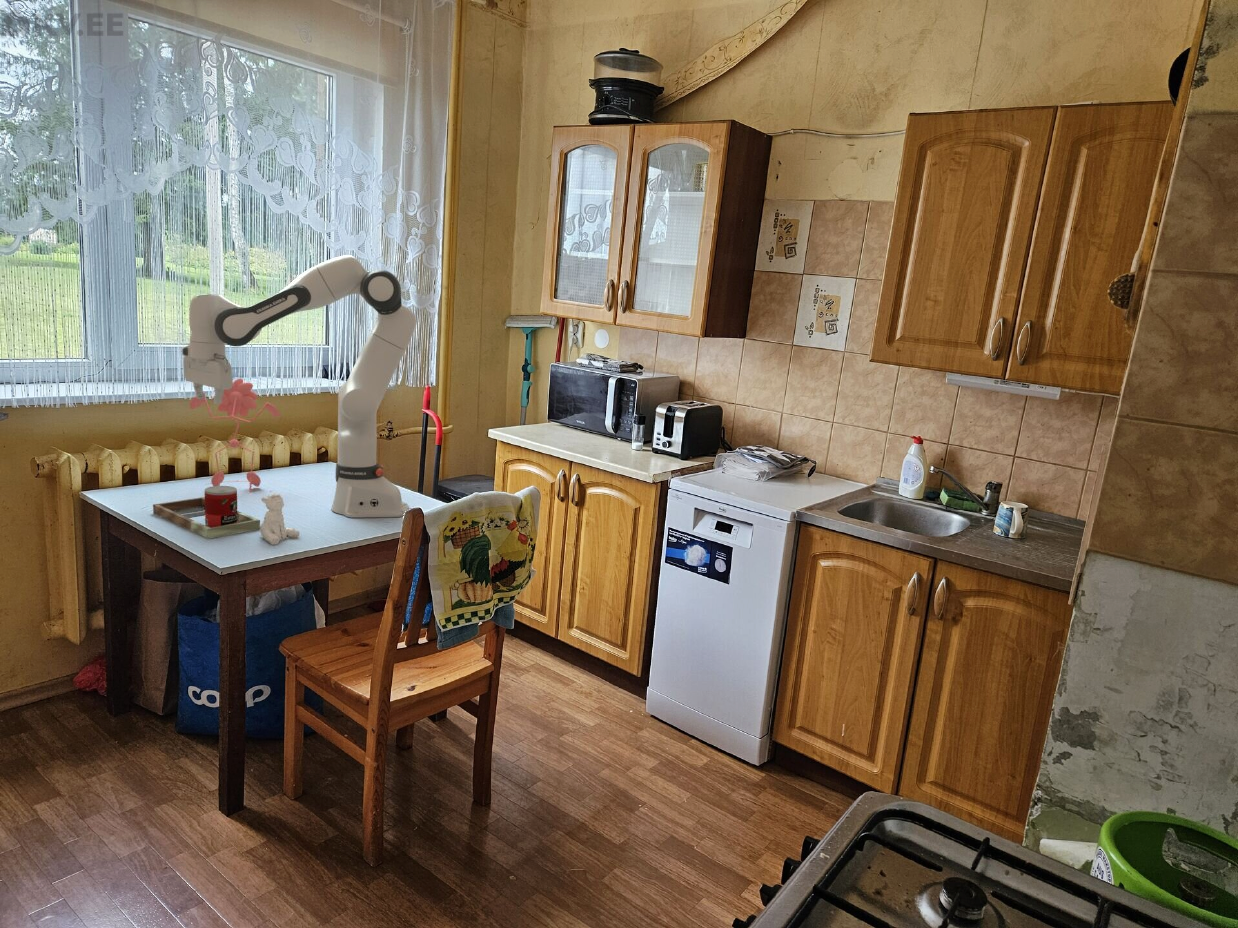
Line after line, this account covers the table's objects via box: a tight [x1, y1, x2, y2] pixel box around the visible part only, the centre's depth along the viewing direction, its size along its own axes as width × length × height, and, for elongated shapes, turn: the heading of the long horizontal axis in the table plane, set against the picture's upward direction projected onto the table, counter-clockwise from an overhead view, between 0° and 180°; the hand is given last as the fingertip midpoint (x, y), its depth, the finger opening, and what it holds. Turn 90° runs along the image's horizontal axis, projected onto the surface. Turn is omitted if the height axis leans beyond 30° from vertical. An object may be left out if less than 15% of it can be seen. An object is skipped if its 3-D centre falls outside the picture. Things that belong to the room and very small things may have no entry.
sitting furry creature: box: [259, 493, 300, 546], centre depth 213 cm, size 10×9×12 cm
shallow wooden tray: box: [152, 496, 261, 540], centre depth 223 cm, size 30×14×2 cm, turn 53°
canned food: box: [204, 485, 238, 528], centre depth 217 cm, size 8×8×11 cm
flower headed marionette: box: [189, 378, 281, 493], centre depth 257 cm, size 15×26×35 cm, turn 108°
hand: (208, 401), depth 230 cm, fingers open, 8 cm apart
